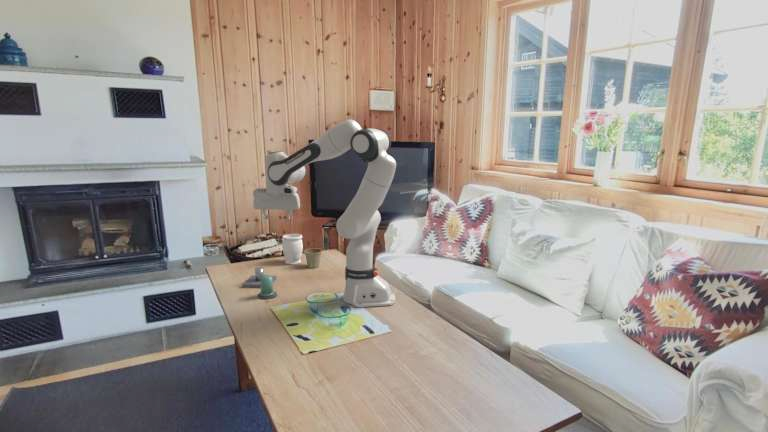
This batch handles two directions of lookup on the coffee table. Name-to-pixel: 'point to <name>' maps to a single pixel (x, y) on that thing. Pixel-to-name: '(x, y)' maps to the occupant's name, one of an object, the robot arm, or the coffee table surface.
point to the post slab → (254, 282)
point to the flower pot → (313, 257)
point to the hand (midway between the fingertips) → (277, 219)
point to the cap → (266, 286)
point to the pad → (267, 297)
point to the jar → (292, 248)
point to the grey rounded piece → (258, 273)
